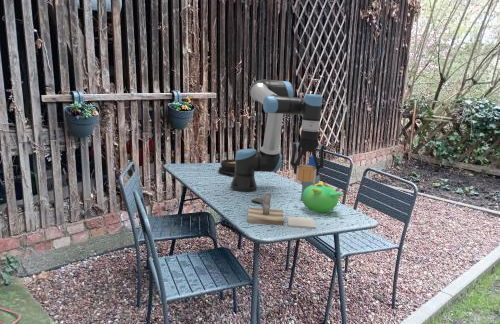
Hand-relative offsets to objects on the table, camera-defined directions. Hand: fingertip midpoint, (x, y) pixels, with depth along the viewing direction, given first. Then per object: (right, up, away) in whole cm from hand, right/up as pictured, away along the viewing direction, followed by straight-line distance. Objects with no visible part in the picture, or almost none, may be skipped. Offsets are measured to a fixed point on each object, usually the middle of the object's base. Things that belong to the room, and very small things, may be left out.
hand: (305, 181), depth 169 cm
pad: (-1, -19, +4) cm, 19 cm away
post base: (-17, -17, +7) cm, 25 cm away
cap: (0, +1, 0) cm, 1 cm away
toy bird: (+10, -16, +23) cm, 30 cm away
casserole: (-37, +1, +95) cm, 102 cm away
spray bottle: (+8, -13, +41) cm, 44 cm away
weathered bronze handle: (-18, -14, +25) cm, 34 cm away
